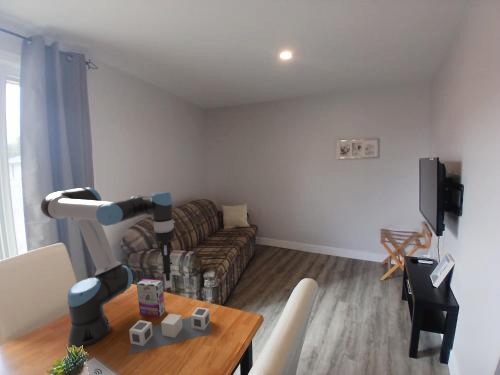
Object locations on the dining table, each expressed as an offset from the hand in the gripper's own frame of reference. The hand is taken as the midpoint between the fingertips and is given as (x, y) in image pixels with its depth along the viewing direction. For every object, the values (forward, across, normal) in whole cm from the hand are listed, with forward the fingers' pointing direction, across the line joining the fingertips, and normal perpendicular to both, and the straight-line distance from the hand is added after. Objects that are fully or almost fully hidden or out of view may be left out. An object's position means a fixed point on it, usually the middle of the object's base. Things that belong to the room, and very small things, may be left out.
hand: (168, 283), depth 103 cm
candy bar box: (+23, +17, +9) cm, 30 cm away
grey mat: (+23, 0, 0) cm, 23 cm away
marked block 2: (+22, 0, -12) cm, 25 cm away
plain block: (+22, 0, 0) cm, 22 cm away
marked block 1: (+22, 0, +12) cm, 25 cm away
